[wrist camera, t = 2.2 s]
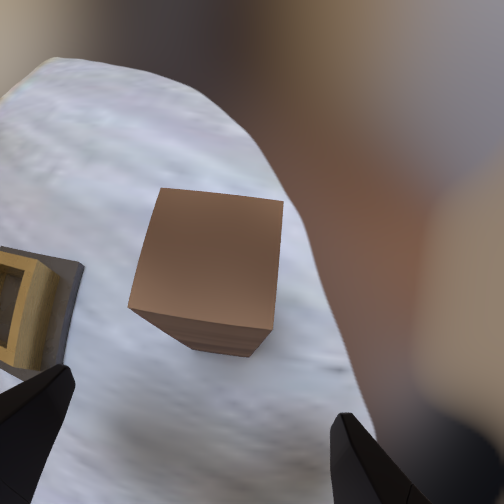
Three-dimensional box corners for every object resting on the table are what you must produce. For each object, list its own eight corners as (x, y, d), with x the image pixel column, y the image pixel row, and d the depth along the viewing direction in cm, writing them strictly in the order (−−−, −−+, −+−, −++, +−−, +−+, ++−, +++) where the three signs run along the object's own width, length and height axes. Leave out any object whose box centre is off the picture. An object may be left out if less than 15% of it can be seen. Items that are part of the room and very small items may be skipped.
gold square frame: (58, 394, 17) (24, 394, 12) (-19, 353, 17) (-50, 344, 12) (84, 266, 21) (58, 243, 17) (6, 250, 21) (-20, 229, 17)
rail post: (248, 357, 19) (272, 329, 7) (192, 349, 19) (127, 307, 7) (255, 303, 21) (283, 201, 9) (200, 295, 21) (160, 187, 9)
